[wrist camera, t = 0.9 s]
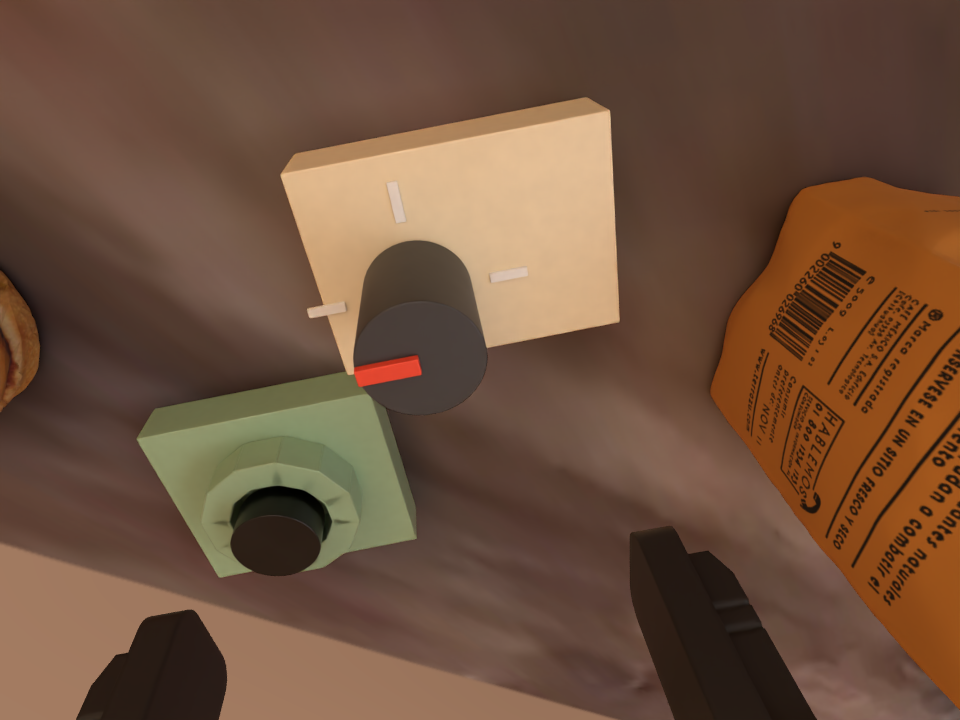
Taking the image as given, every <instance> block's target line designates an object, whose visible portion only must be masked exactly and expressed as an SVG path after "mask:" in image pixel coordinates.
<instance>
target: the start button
mask: <svg viewBox="0 0 960 720" xmlns="http://www.w3.org/2000/svg"><path fill="white" fill-rule="evenodd" d="M324 523H325V513H324V509H323V507H322V505H321V504H320V502H319V501H318V500H317V499H316V498H315V497H314V496H312V495H311V494H309V493H308V492H306V491H304V490H301V489H295V488H290V487H285V486H270V487H266V488H262V489H260V490H258V491H256V492H254V493H252V494H251V495H250V496H248V497H247V498H246V499H245V501H244V502H243V504H242V506H241V508H240V512H239V515H238V518H237V521H236V524H235V527H234V530H233V533H232V537H231V541H230V546H231V550H232V553H233V555H234V557H235V558H236V559H237V561H238V562H239V563H240V564H242V565H243V566H244V567H246V568H248V569H249V570H251V571H254V572H256V573H260V574H264V575H270V576H286V575H291V574H295V573H298V572H301V571H303V570H305V569H307V568H308V567H309V566H311V565H312V564H313V563H314V562H315V561H316V559H317V558H318V556H319V554H320V550H321V543H322V536H323V530H324Z"/></svg>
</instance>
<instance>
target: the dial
mask: <svg viewBox="0 0 960 720" xmlns="http://www.w3.org/2000/svg"><path fill="white" fill-rule="evenodd" d="M487 356H488V355H487V347H486V343H485V338H484V334H483V330H482V325H481V321H480V317H479V312H478V308H477V304H476V299H475V295H474V291H473V287H472V282H471V278H470V275H469V273H468V270H467V268H466V267H465V265H464V263H463V262H462V261H461V260H460V258H459V257H458V256H456V255H455V254H454V253H453V252H452V251H450V250H449V249H447V248H445V247H444V246H441V245H439V244H436V243H433V242H429V241H421V240H413V241H405V242H402V243H398V244H396V245H393V246H391V247H389V248H387V249H386V250H384V251H383V252H382V253H380V254H379V255H378V256H377V257H376V258H375V259H374V260H373V262H372V263H371V264H370V266H369V268H368V270H367V272H366V275H365V277H364V282H363V288H362V295H361V302H360V309H359V316H358V323H357V330H356V337H355V344H354V352H353V364H354V375H355V378H356V381H357V384H358V386H359V387H362V388H363V389H364V390H365V391H366V393H367V394H368V395H369V396H370V397H371V398H372V399H373V400H375V401H376V402H378V403H379V404H380V405H382V406H384V407H386V408H388V409H390V410H393V411H396V412H399V413H403V414H408V415H430V414H436V413H440V412H443V411H446V410H449V409H451V408H453V407H455V406H457V405H459V404H460V403H462V402H463V401H465V400H466V399H467V398H468V397H469V396H470V395H471V394H472V393H473V392H474V391H475V390H476V388H477V387H478V385H479V384H480V382H481V380H482V378H483V376H484V373H485V371H486V366H487Z"/></svg>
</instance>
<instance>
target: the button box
mask: <svg viewBox="0 0 960 720" xmlns="http://www.w3.org/2000/svg"><path fill="white" fill-rule="evenodd" d="M137 441H138V443H139V445H140V446H141V448H142V450H143V451H144V453H145V455H146V456H147V458H148V460H149V461H150V463H151V465H152V466H153V468H154V470H155V471H156V473H157V475H158V476H159V478H160V480H161V481H162V483H163V485H164V486H165V488H166V490H167V491H168V493H169V495H170V496H171V498H172V500H173V501H174V503H175V505H176V506H177V508H178V510H179V511H180V513H181V515H182V516H183V518H184V520H185V521H186V523H187V525H188V526H189V528H190V530H191V531H192V533H193V535H194V536H195V538H196V540H197V541H198V543H199V545H200V546H201V548H202V550H203V551H204V553H205V555H206V557H207V558H208V560H209V562H210V563H211V565H212V567H213V568H214V570H215V572H216V573H217V575H218V577H219V578H221V577H226V576H231V575H236V574H241V573H246V572H251V570H249V569H248V568H246V567H244V566H243V565H242V564H240V563H239V562H238V561H237V559H236V558H235V557H234V555H233V553H232V550H231V546H230V541H231V537H232V533H233V530H234V527H235V524H236V521H237V518H238V515H239V512H240V508H241V506H242V504H243V502H244V501H245V499H246V498H247V497H248V496H250V495H251V494H252V493H254V492H256V491H258V490H260V489H262V488H266V487H270V486H285V487H290V488H295V489H301V490H304V491H306V492H308V493H309V494H311V495H312V496H314V497H315V498H316V499H317V500H318V501H319V502H320V504H321V505H322V507H323V509H324V513H325V523H324V530H323V536H322V543H321V550H320V554H319V556H318V558H317V559H316V561H315V562H314V563H313V564H312V565H311V566H309V567H308V568H307V569H305V570H303V571H308V570H313V569H318V568H322V567H325V566H326V565H328V564H329V563H331V562H332V561H334V560H335V559H336V558H338V557H339V556H341V555H342V554H343V553H347V552H352V551H357V550H362V549H367V548H372V547H377V546H382V545H387V544H392V543H397V542H402V541H407V540H412V539H416V538H417V535H416V506H415V503H414V499H413V496H412V493H411V490H410V486H409V483H408V480H407V477H406V473H405V470H404V467H403V463H402V460H401V457H400V454H399V450H398V447H397V444H396V441H395V437H394V434H393V431H392V428H391V424H390V421H389V418H388V415H387V411H386V408H385V407H384V406H382V405H380V404H379V403H378V402H376V401H375V400H373V399H372V398H371V397H370V396H369V395H368V394H367V393H366V391H365V390H364V389H363V388H362V387H359V386H358V384H357V381H356V378H355V375H354V374H352V375H347V373H346V371H345V372H340V373H335V374H330V375H325V376H320V377H315V378H310V379H305V380H300V381H295V382H289V383H284V384H279V385H274V386H269V387H264V388H259V389H254V390H249V391H244V392H239V393H233V394H228V395H223V396H218V397H213V398H208V399H203V400H198V401H193V402H188V403H183V404H177V405H172V406H167V407H162V408H157V409H154V411H153V412H152V414H151V416H150V417H149V419H148V421H147V422H146V424H145V426H144V427H143V429H142V431H141V432H140V434H139V436H138V437H137ZM303 571H301V572H303Z"/></svg>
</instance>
